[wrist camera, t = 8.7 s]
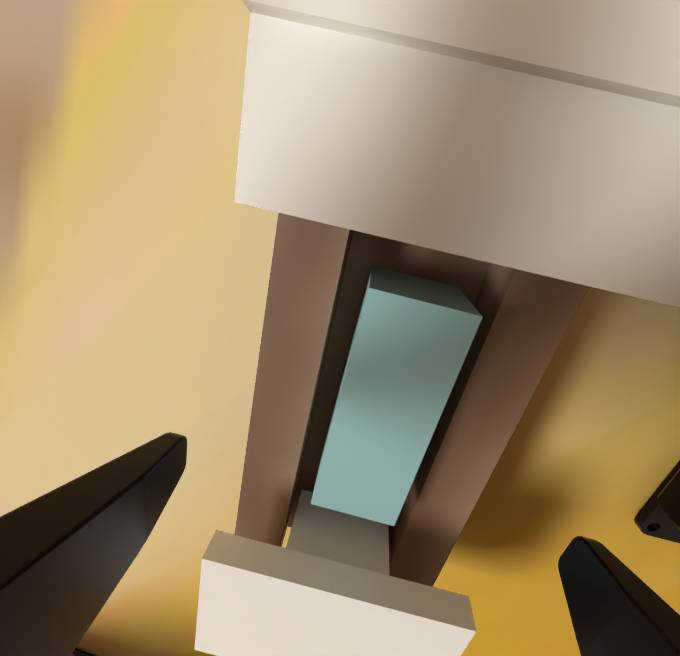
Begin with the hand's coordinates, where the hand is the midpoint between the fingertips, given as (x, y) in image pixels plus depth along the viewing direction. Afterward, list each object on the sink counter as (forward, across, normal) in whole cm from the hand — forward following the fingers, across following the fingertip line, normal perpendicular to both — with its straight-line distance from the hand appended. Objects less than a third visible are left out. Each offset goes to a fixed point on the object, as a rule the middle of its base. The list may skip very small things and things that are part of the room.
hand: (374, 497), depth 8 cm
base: (+7, 0, 0) cm, 7 cm away
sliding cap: (+5, 0, +8) cm, 10 cm away
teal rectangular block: (+6, 0, 0) cm, 6 cm away
